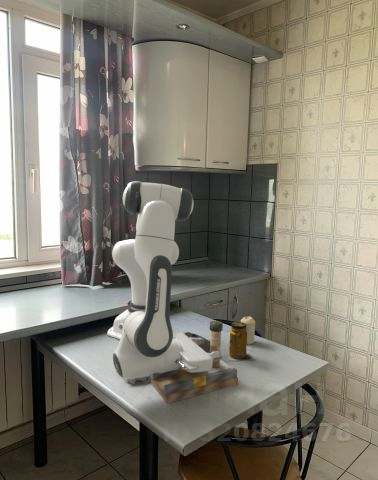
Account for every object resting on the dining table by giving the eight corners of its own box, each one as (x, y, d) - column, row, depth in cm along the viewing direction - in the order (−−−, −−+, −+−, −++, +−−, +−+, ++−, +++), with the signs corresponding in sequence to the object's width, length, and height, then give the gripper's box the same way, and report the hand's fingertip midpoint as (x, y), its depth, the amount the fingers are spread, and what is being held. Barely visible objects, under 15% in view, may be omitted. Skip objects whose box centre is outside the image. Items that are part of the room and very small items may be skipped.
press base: (166, 403, 104) (166, 388, 104) (150, 382, 115) (150, 369, 114) (238, 384, 115) (238, 370, 115) (217, 366, 126) (218, 354, 125)
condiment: (226, 351, 137) (227, 320, 136) (249, 351, 138) (250, 320, 136) (230, 361, 130) (232, 328, 128) (254, 360, 131) (256, 327, 129)
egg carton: (118, 369, 123) (118, 357, 122) (141, 365, 126) (141, 354, 125) (126, 385, 113) (126, 372, 113) (150, 381, 116) (150, 368, 115)
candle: (237, 342, 146) (238, 317, 144) (243, 337, 150) (244, 313, 149) (250, 346, 143) (251, 320, 141) (256, 341, 147) (257, 316, 146)
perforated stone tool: (221, 359, 131) (222, 340, 130) (213, 364, 127) (214, 345, 126) (188, 347, 140) (188, 329, 139) (179, 351, 136) (179, 333, 135)
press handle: (208, 379, 113) (210, 329, 110) (197, 369, 119) (199, 321, 117) (231, 374, 117) (233, 325, 114) (219, 364, 123) (221, 317, 120)
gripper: (185, 360, 100) (229, 351, 106) (156, 332, 118) (195, 325, 124) (184, 382, 101) (228, 371, 107) (156, 351, 119) (194, 343, 125)
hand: (210, 346), depth 116 cm, fingers open, 8 cm apart
